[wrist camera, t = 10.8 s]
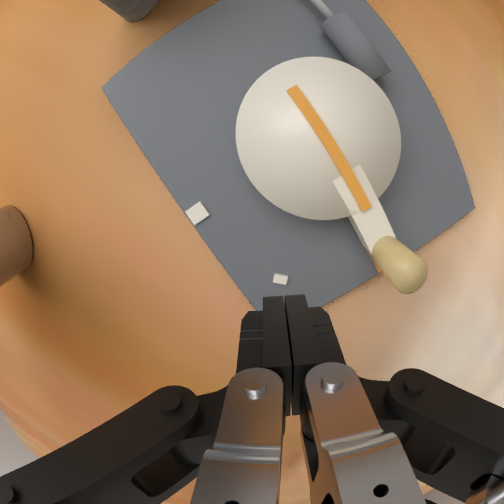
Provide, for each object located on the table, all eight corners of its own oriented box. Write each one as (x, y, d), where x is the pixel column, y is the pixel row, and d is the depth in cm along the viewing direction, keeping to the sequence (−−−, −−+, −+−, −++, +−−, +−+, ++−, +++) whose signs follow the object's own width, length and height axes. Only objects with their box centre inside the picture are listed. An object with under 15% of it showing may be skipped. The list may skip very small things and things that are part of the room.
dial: (209, 116, 19) (182, 102, 13) (334, 44, 16) (360, 7, 10) (324, 288, 24) (341, 336, 17) (431, 219, 21) (477, 245, 14)
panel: (272, 324, 28) (272, 333, 26) (107, 89, 20) (99, 87, 19) (468, 205, 22) (476, 208, 21) (323, -33, 14) (326, -41, 13)
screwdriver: (395, 69, 16) (382, 73, 15) (372, 81, 18) (357, 87, 18) (295, -44, 12) (273, -46, 11) (280, -27, 15) (258, -27, 14)
